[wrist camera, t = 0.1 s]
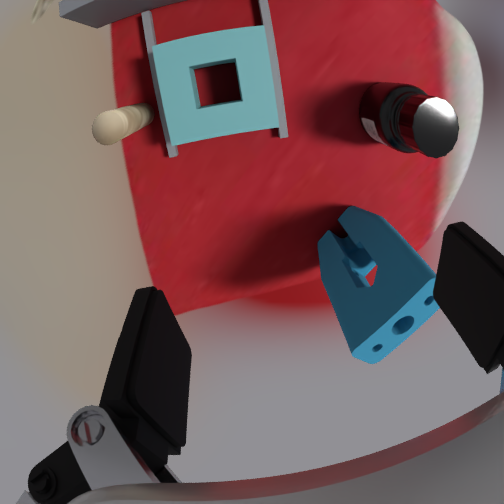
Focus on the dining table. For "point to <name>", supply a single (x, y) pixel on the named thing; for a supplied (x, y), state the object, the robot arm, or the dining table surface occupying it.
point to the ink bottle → (409, 119)
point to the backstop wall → (130, 3)
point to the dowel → (121, 122)
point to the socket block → (222, 114)
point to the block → (375, 284)
